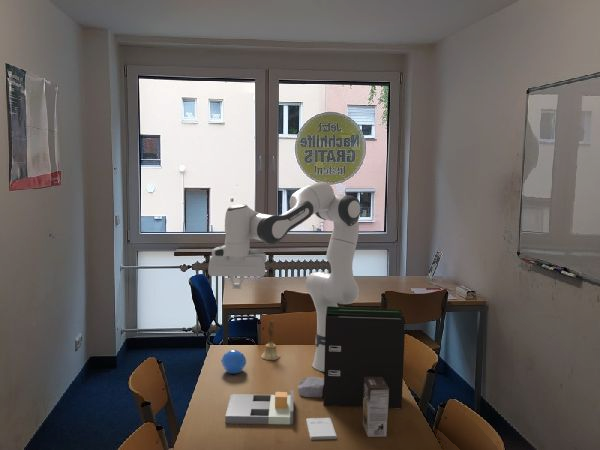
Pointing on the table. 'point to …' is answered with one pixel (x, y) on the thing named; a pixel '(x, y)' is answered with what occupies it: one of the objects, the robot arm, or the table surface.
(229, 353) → the blue ball
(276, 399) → the block
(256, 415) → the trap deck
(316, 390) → the stone block
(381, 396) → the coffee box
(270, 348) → the hand bell
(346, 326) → the binder
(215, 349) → the table surface
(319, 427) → the external hard drive
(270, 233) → the robot arm
